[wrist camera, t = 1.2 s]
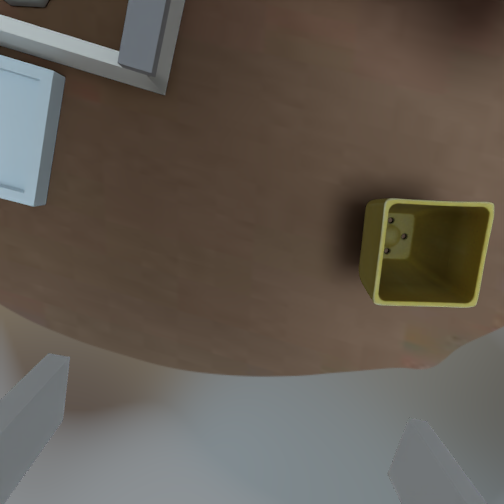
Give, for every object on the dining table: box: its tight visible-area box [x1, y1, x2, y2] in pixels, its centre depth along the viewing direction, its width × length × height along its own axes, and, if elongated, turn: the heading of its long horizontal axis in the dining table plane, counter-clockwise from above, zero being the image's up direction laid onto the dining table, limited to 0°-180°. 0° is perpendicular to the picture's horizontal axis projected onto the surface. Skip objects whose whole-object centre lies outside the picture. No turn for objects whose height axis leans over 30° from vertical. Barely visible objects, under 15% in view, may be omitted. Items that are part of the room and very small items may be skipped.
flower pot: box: [359, 198, 494, 308], centre depth 32 cm, size 9×9×9 cm
